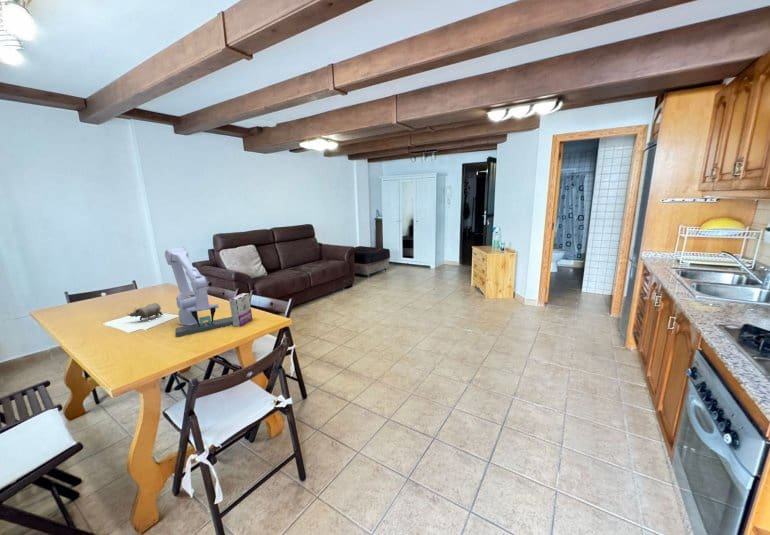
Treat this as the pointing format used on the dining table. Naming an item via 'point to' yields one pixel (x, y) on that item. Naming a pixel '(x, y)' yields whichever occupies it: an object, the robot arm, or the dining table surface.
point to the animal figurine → (147, 311)
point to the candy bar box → (240, 309)
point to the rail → (203, 327)
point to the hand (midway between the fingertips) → (205, 322)
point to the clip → (205, 320)
